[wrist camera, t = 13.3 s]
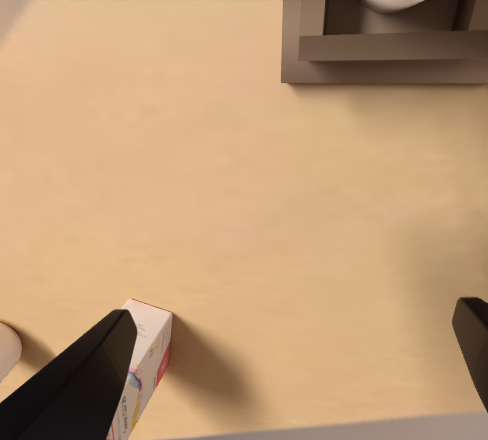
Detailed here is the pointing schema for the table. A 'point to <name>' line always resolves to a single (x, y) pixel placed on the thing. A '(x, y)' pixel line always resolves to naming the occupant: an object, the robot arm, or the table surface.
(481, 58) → the low dock
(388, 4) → the plug
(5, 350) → the teacup
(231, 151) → the table surface
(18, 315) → the table surface
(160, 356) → the ink cartridge box
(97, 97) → the table surface
